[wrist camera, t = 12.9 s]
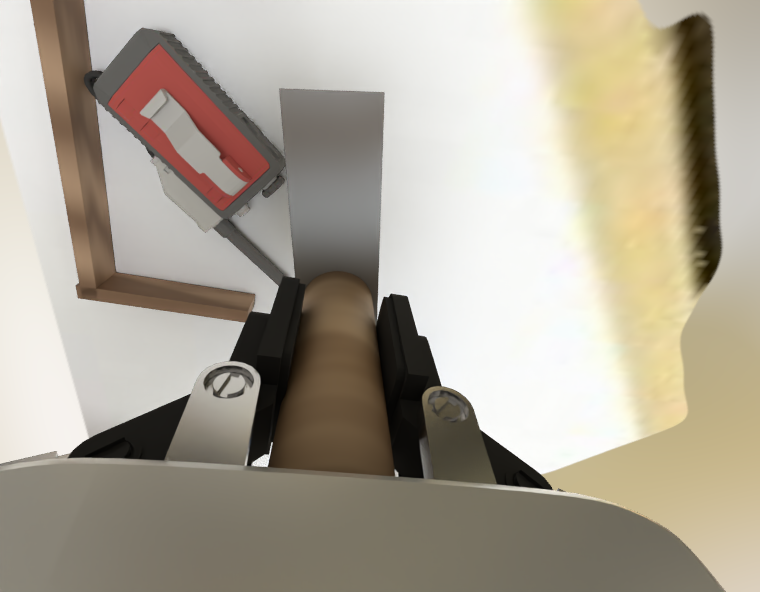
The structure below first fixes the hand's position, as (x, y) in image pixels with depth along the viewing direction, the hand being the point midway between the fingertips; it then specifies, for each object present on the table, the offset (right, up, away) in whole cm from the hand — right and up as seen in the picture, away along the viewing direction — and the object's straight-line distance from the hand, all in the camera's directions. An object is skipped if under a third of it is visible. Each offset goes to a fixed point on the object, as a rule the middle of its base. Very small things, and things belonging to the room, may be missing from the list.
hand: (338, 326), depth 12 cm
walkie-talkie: (-11, +11, +18) cm, 24 cm away
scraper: (-1, +3, +6) cm, 7 cm away
